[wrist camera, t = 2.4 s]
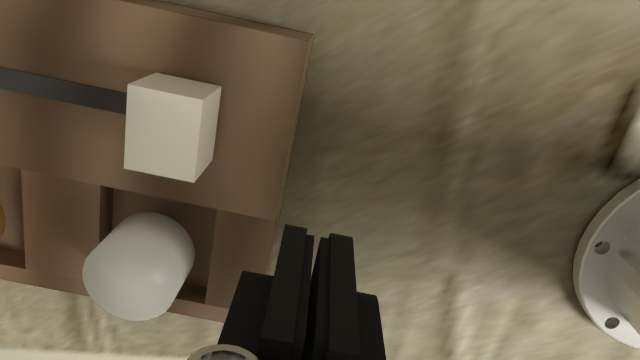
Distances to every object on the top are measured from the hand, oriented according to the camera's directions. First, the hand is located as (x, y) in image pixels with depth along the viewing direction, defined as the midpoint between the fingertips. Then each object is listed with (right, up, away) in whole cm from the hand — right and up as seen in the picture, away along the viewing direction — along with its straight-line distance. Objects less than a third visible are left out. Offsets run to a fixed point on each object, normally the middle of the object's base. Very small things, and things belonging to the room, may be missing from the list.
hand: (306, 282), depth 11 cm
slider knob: (-6, +5, +10) cm, 13 cm away
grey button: (-8, -1, +13) cm, 16 cm away
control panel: (-12, +5, +15) cm, 20 cm away
